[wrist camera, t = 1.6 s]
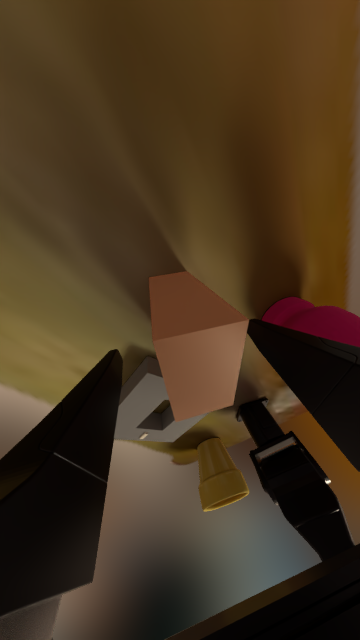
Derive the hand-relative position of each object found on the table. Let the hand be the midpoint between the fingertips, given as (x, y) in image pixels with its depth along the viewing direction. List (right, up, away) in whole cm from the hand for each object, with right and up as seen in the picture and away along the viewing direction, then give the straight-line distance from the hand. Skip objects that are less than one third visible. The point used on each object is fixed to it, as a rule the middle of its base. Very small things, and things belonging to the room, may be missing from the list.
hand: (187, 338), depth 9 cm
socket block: (-3, -11, +13) cm, 17 cm away
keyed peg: (-1, +3, +5) cm, 6 cm away
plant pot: (+7, -32, +27) cm, 42 cm away
